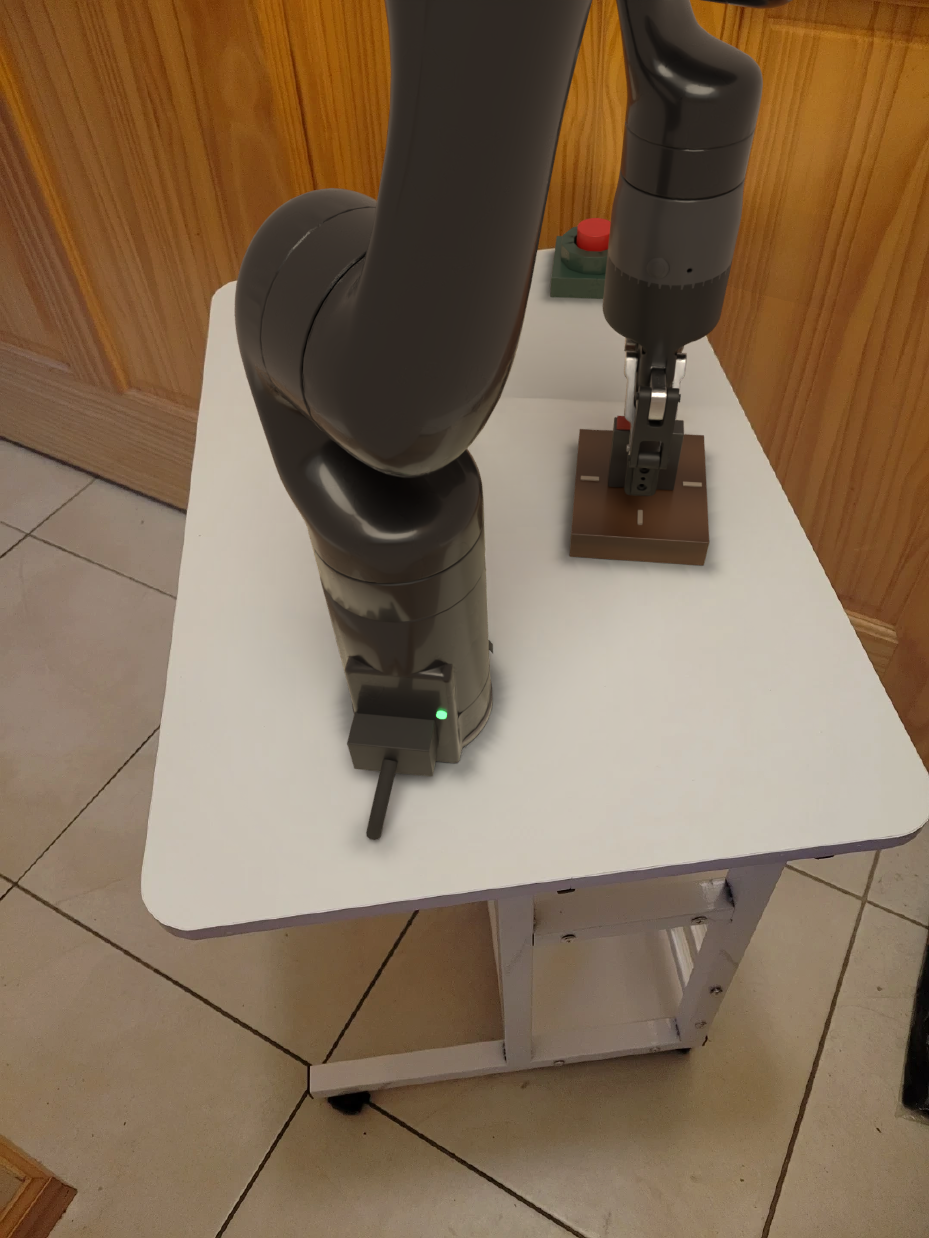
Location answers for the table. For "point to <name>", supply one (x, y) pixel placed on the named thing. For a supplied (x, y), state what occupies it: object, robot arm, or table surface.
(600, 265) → the button box
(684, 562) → the panel
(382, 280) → the robot arm
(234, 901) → the table surface
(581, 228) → the button
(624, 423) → the lock knob
